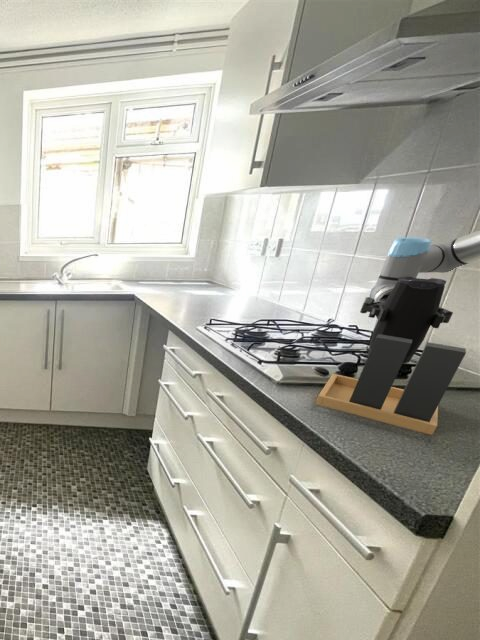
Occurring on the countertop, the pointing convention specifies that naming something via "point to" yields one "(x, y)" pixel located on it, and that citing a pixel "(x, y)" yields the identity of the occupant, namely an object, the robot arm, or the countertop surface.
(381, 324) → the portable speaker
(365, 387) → the charcoal box
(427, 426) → the oak tray
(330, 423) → the countertop surface
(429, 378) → the charcoal box
